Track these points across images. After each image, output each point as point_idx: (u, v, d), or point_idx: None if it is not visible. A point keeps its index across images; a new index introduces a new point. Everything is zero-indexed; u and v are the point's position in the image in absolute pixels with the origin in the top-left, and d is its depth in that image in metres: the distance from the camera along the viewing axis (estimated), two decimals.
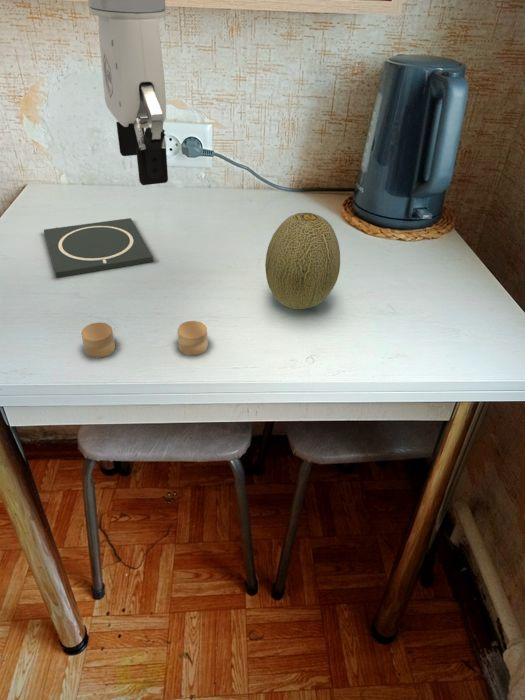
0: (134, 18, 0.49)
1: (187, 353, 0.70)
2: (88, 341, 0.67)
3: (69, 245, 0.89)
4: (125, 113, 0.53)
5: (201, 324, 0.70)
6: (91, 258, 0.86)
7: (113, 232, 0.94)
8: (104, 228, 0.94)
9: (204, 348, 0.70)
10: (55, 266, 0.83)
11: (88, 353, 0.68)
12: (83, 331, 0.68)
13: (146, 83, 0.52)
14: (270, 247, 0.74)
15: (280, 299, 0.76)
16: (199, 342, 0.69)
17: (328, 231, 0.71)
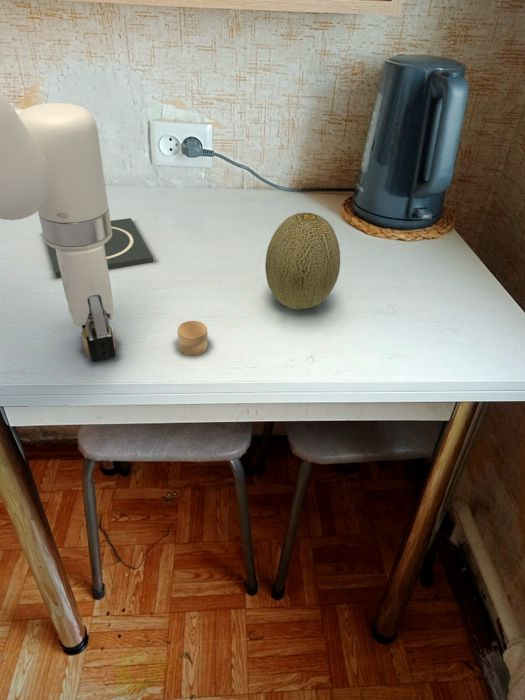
0: (81, 250, 0.56)
1: (187, 353, 0.70)
2: None
3: None
4: (76, 319, 0.60)
5: (201, 324, 0.70)
6: None
7: (113, 232, 0.94)
8: None
9: (204, 348, 0.70)
10: (55, 266, 0.83)
11: (88, 353, 0.68)
12: (83, 331, 0.68)
13: (95, 299, 0.60)
14: (269, 247, 0.74)
15: (280, 299, 0.76)
16: (199, 342, 0.69)
17: (328, 231, 0.71)
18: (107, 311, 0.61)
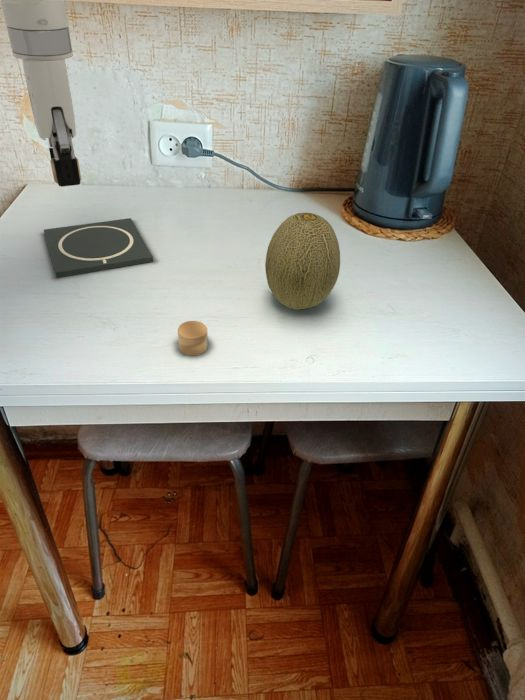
0: (44, 60, 0.65)
1: (187, 353, 0.70)
2: None
3: (69, 245, 0.89)
4: (42, 130, 0.69)
5: (201, 324, 0.70)
6: (91, 258, 0.86)
7: (113, 232, 0.94)
8: (104, 228, 0.94)
9: (204, 348, 0.70)
10: (55, 266, 0.83)
11: (56, 180, 0.77)
12: (52, 160, 0.77)
13: (58, 112, 0.69)
14: (269, 247, 0.74)
15: (280, 299, 0.76)
16: (199, 342, 0.69)
17: (328, 231, 0.71)
18: (69, 126, 0.70)
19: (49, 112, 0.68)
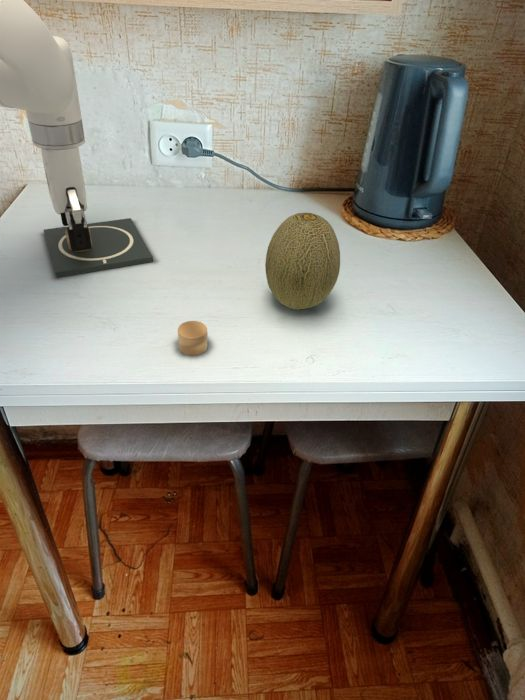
0: (60, 149, 0.74)
1: (187, 353, 0.70)
2: None
3: None
4: (57, 207, 0.78)
5: (201, 324, 0.70)
6: (91, 258, 0.86)
7: (113, 232, 0.94)
8: (104, 228, 0.94)
9: (204, 348, 0.70)
10: (55, 266, 0.83)
11: None
12: None
13: (71, 187, 0.77)
14: (269, 247, 0.74)
15: (280, 299, 0.76)
16: (199, 342, 0.69)
17: (328, 231, 0.71)
18: (79, 192, 0.78)
19: (64, 192, 0.77)
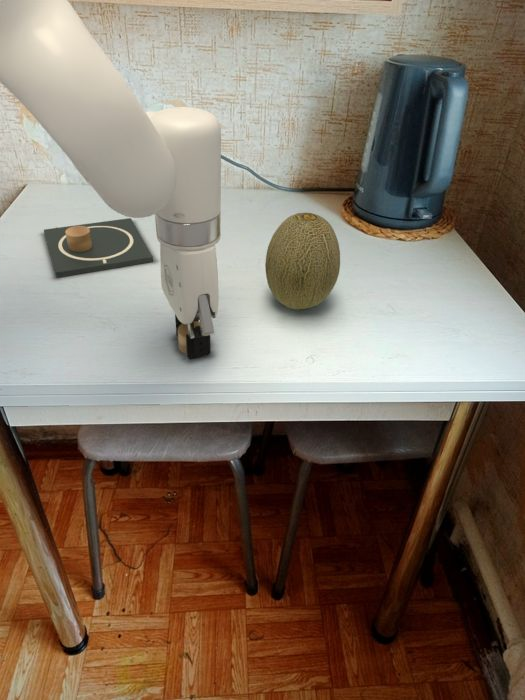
0: (196, 249, 0.58)
1: None
2: (71, 237, 0.85)
3: None
4: (185, 317, 0.61)
5: None
6: (91, 258, 0.86)
7: (113, 232, 0.94)
8: (104, 228, 0.94)
9: None
10: (55, 266, 0.83)
11: (71, 248, 0.87)
12: (67, 230, 0.87)
13: (203, 297, 0.61)
14: (269, 247, 0.74)
15: (280, 299, 0.76)
16: None
17: (328, 231, 0.71)
18: (213, 309, 0.62)
19: (196, 300, 0.60)
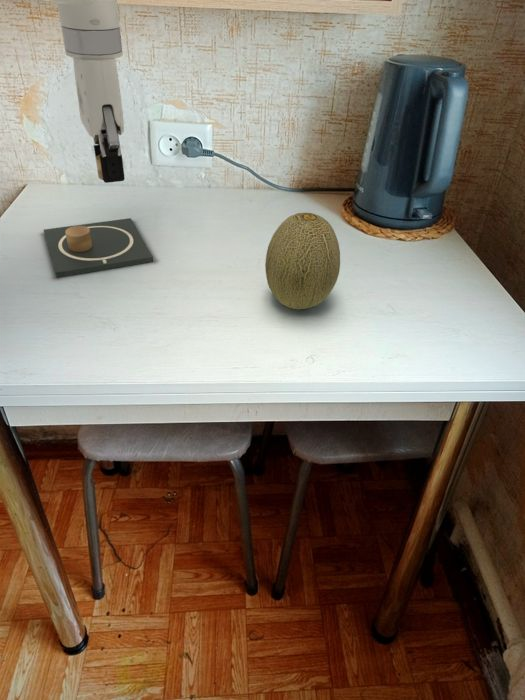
0: (97, 59, 0.67)
1: None
2: (71, 237, 0.85)
3: None
4: (92, 127, 0.71)
5: None
6: (91, 258, 0.86)
7: (113, 232, 0.94)
8: (104, 228, 0.94)
9: None
10: (55, 266, 0.83)
11: (71, 248, 0.87)
12: (67, 230, 0.87)
13: (108, 110, 0.70)
14: (269, 247, 0.74)
15: (280, 299, 0.76)
16: None
17: (328, 231, 0.71)
18: (118, 123, 0.72)
19: (100, 110, 0.70)
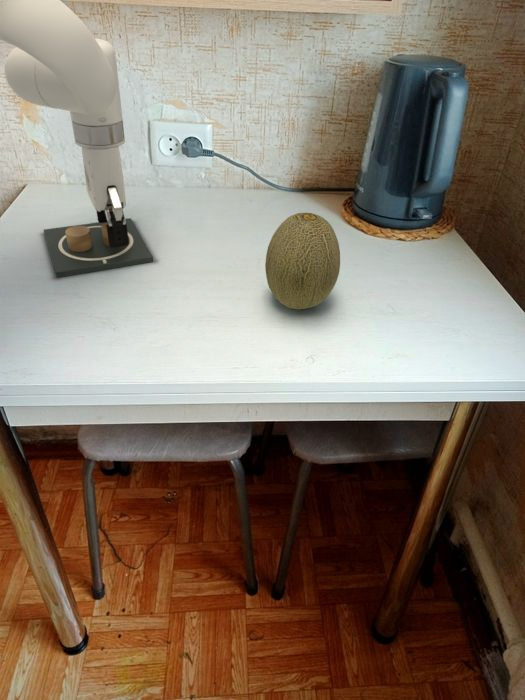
0: (103, 148, 0.77)
1: None
2: (71, 237, 0.85)
3: None
4: (98, 204, 0.81)
5: None
6: (91, 258, 0.86)
7: None
8: None
9: None
10: (55, 266, 0.83)
11: (71, 248, 0.87)
12: (67, 230, 0.87)
13: (111, 186, 0.80)
14: (269, 247, 0.74)
15: (280, 299, 0.76)
16: None
17: (328, 231, 0.71)
18: (119, 190, 0.80)
19: (105, 190, 0.79)
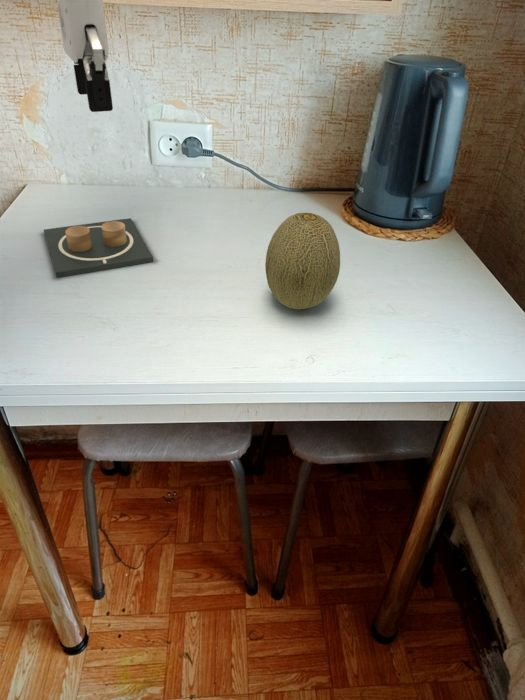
0: None
1: (109, 245, 0.89)
2: (71, 237, 0.85)
3: None
4: (74, 50, 0.67)
5: (121, 223, 0.90)
6: (91, 258, 0.86)
7: None
8: None
9: (123, 241, 0.90)
10: (55, 266, 0.83)
11: (71, 248, 0.87)
12: (67, 230, 0.87)
13: (90, 25, 0.66)
14: (269, 247, 0.74)
15: (280, 299, 0.76)
16: (117, 235, 0.88)
17: (328, 231, 0.71)
18: (100, 33, 0.67)
19: (82, 30, 0.66)
